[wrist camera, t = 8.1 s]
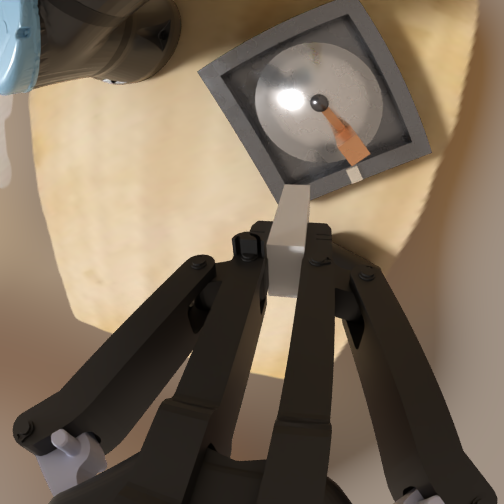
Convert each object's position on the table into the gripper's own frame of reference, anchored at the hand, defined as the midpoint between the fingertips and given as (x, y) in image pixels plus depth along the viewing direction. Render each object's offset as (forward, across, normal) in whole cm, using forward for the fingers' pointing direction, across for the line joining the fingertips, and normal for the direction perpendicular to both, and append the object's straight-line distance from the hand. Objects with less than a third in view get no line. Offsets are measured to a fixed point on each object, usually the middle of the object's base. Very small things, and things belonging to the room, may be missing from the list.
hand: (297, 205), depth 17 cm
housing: (+21, -2, -5) cm, 21 cm away
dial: (+19, -1, -5) cm, 20 cm away
